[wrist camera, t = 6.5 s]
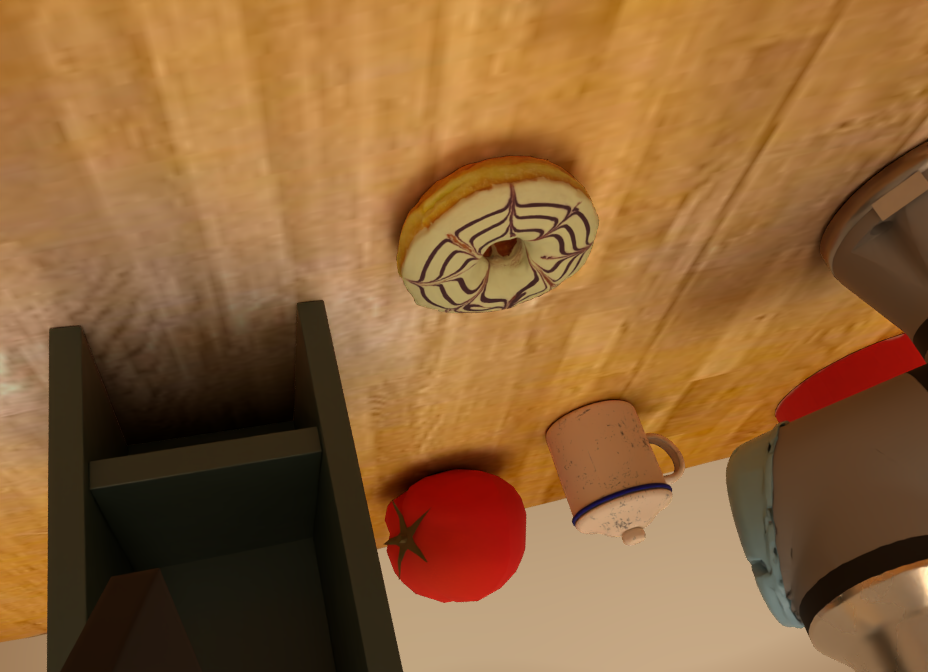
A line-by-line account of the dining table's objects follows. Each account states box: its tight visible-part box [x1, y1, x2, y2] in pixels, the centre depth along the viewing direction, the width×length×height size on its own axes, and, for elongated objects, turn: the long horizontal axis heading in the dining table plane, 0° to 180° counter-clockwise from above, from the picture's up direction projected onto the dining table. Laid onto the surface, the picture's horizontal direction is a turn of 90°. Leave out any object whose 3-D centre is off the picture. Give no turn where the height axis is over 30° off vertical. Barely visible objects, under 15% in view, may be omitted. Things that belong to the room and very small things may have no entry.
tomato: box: [385, 469, 526, 603], centre depth 70 cm, size 13×13×13 cm
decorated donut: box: [396, 156, 599, 313], centre depth 39 cm, size 10×11×4 cm
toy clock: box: [775, 333, 926, 423], centre depth 80 cm, size 20×6×20 cm
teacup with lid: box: [546, 400, 685, 546], centre depth 68 cm, size 12×9×12 cm
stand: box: [47, 301, 403, 672], centre depth 39 cm, size 18×14×33 cm
